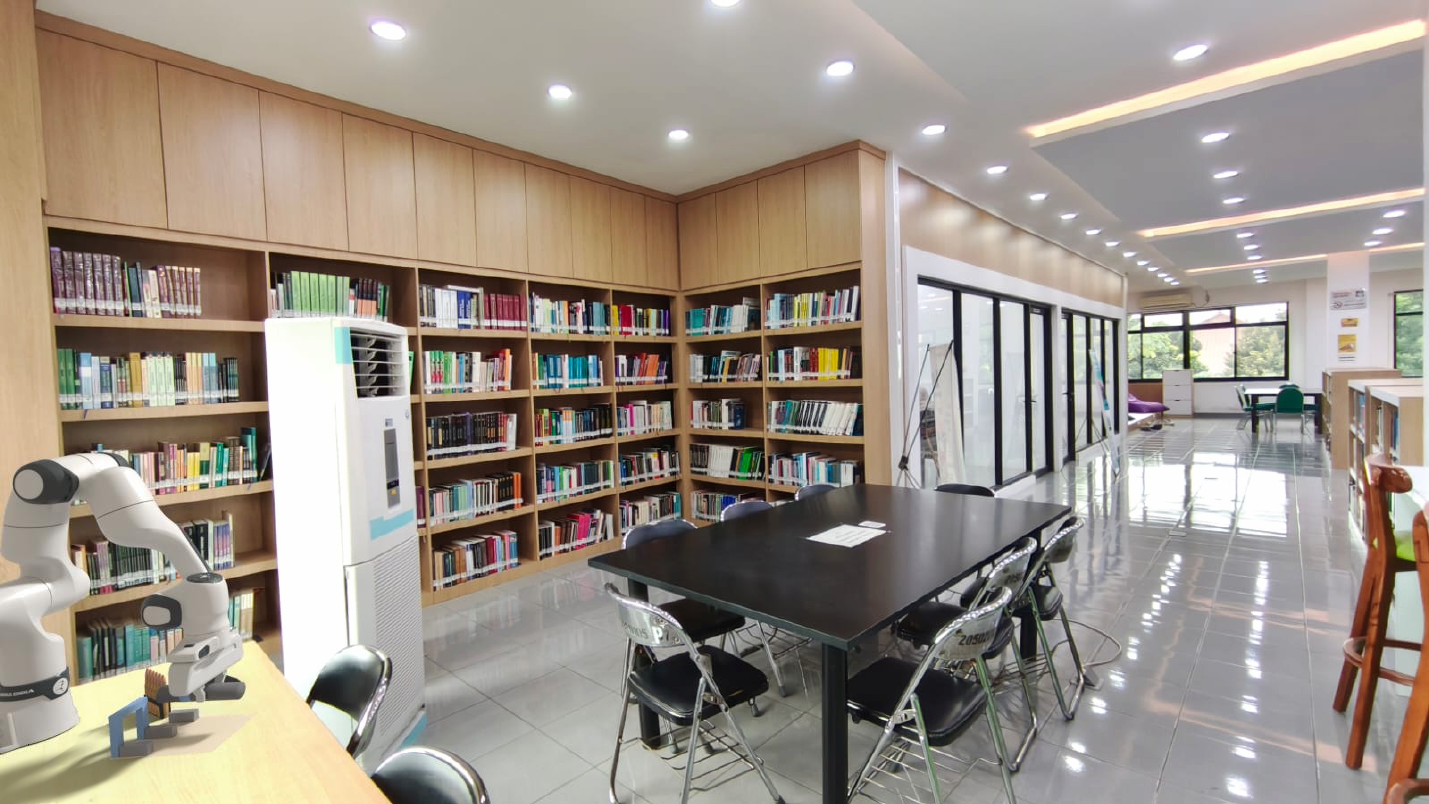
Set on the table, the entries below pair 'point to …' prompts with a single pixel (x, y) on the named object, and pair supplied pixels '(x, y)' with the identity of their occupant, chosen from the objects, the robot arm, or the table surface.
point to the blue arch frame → (117, 723)
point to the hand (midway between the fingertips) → (210, 695)
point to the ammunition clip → (151, 687)
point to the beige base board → (185, 734)
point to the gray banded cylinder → (214, 691)
